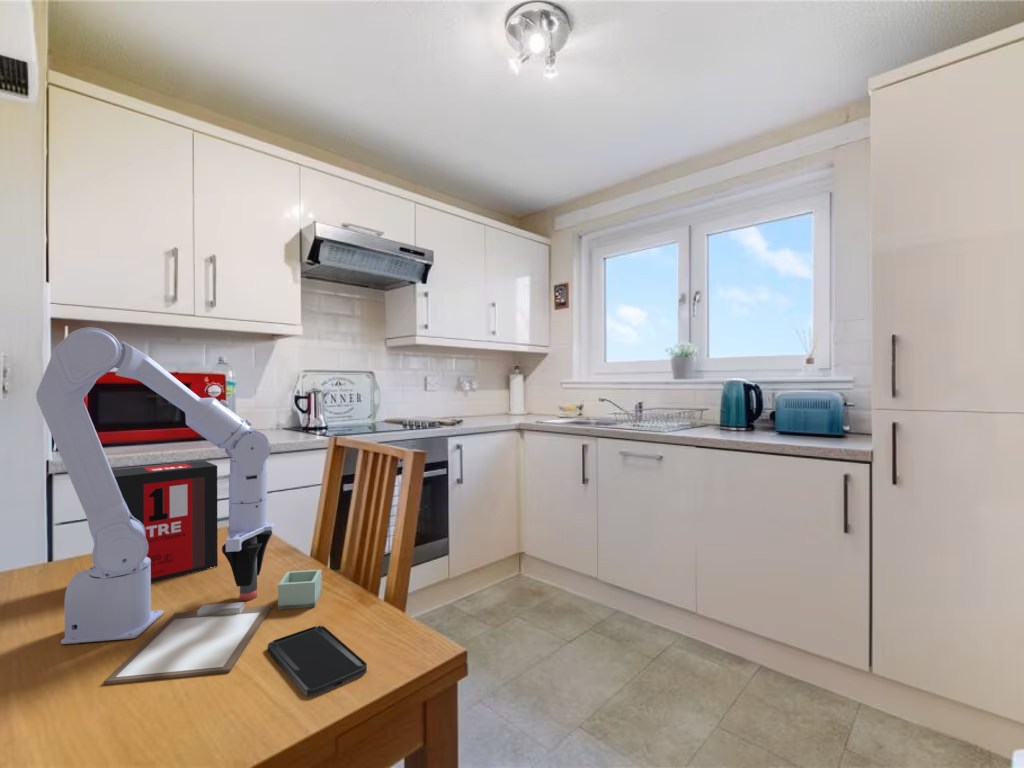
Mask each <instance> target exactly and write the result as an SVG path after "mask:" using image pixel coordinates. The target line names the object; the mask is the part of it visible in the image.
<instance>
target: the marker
mask: <svg viewBox="0 0 1024 768" xmlns="http://www.w3.org/2000/svg"><path fill="white" fill-rule="evenodd" d="M249 542H251V544H254V543H257V537H256V536H253V537H251V538H249ZM257 597H258V576H257V557H256V561H255V567H254V575H253V580H252V583H251V585H250V586H239V600H240V601H242V602H245V601H252V600H254V599H256V598H257Z"/></svg>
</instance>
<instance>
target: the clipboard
mask: <svg viewBox="0 0 1024 768" xmlns="http://www.w3.org/2000/svg"><path fill="white" fill-rule="evenodd" d="M271 609H272V605H265V606H264V605H262V606H251V607H247V606H246V607H245V601H242V602H241V601H240V602H228V603H227V602H226V603H212V604H202V605H201V606H200V608H198V610H196V611H185V612H182V611H181V612H174V614H173V615H172V616H171V617H169V618H168V620H166V621H165V622H164V623H163V624H162V625H161V626H160V627H159V628H158V629H157V630H156V631H155V632H154V633H153V634H151V636H150V637H148V638H147V640H146V641H144V642H143V643H142V644H141V645H140V646H139V647H137V649H136V650H135V651H134V652H132V654H131V655H130V656H129V657H127V658H126V660H124V662H122V663H121V664H120V665H119V666H118V667H117V668H115V670H114V671H113V672H112V673H111V674H109V675H108V676H107V677H106V679H104V681H103V685H113V684H122V683H123V684H124V683H135V682H141V681H142V682H144V681H154V680H164V679H176V678H183V677H193V676H195V677H196V676H203V675H204V676H205V675H206V676H207V675H214V674H226V673H230V672H231V671H232V670H233V668H234V666H235V665H236V663H237V661H238V660H239V659H240V657H241V656H242V654H243V652H244V651H245V649H246V648H247V647H248V645H249V643H250V642H251V640H252V639H253V637H254V635H255V634H256V632H257V631H258V630H259V629H260V627H261V625H262V623H263V621H264V620H266V617H267V616H268V614H269V613H270V612H271Z"/></svg>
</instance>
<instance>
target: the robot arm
mask: <svg viewBox="0 0 1024 768" xmlns="http://www.w3.org/2000/svg"><path fill="white" fill-rule="evenodd" d="M114 368H116V369H117V370H116V371H115V376H118V377H122V378H128V379H132V380H136V381H139V382H141V383H142V384H143V385H144V386H146V387H148V388H149V389H150V390H152V391H153V392H155V393H156V394H158V395H159V396H161V397H162V398H164V399H165V400H166V401H168V402H169V403H171V404H172V405H174V406H175V407H177V408H178V409H180V410H181V411H182V412H184V414H185V415H184V416H185V425H186V426H188V427H189V429H192V430H193V431H194V432H196V433H197V434H199V435H200V436H201V437H203V438H204V439H206V440H207V441H208V442H209V443H210V444H213V446H215V447H216V448H218V449H220V450H221V449H222V450H223V449H224V451H225V453H226V455H227V456H228V457H229V458H231V459H229V473H228V527H227V538H226V539H225V543H224V544H223V545H222V546H221V552H222V554H223V555H224V556H225V558H226V560H227V561H228V563H229V565H230V568H231V571H232V575H233V578H234V582H235V584H236V587H240V586H250V585H251V583H252V580H253V575H254V567H255V561H256V557H257V577H258V576H259V575H260V573H261V570H262V566H263V565H262V564H263V561H264V557H265V556H264V555H265V552H266V548H267V546H268V543H269V541H270V539H271V537H272V535H273V531H272V530H274V528H275V523H272V522H271V523H269V521H268V472H267V459H268V458H269V457H270V454H271V452H272V445H270V442H269V439H268V436H266V435H265V434H264V433H262V432H260V431H258V430H256V429H255V428H253V427H251V426H253V422H252V421H250V420H249V419H245V420H244V419H243V418H242V417H240V416H239V415H238V414H236V413H235V412H233V411H232V410H231V409H230V408H229V406H230V403H228V402H227V401H226V400H225V399H220V401H219V399H217V398H216V397H200V396H199V395H197V394H196V393H195V392H194V391H192V390H191V389H190V388H189V387H187V386H186V385H185V384H184V383H182V382H181V381H179V380H178V379H177V377H175V376H173V375H172V374H171V373H170V372H169V371H167V370H166V369H165V368H163V367H162V366H161V365H160V364H159V363H157V362H156V361H155V360H153V358H151V357H150V356H148V355H147V354H145V353H144V352H143V351H140V350H138V349H137V348H135V347H134V346H132V345H130V344H128V343H127V342H125V341H122V342H121V343H120V342H119V340H118V339H117V338H116V336H114V334H112V333H111V332H109V331H107V330H105V329H102V328H99V327H81V328H78V329H76V330H74V331H72V332H70V333H69V334H68V335H67V336H65V337H64V339H63V340H61V342H59V343H58V344H57V346H56V347H54V348H53V349H52V351H51V355H50V359H49V362H48V364H47V366H46V369H45V371H44V373H43V375H42V379H41V381H40V383H39V386H38V388H37V390H36V393H35V397H36V401H37V404H38V406H39V408H40V410H41V413H42V416H43V418H44V420H45V423H46V425H47V428H48V429H49V430H48V431H49V432H50V434H51V437H52V439H53V441H54V444H55V446H56V448H57V451H58V453H59V456H60V458H61V461H62V462H63V465H64V467H65V470H66V472H67V474H68V476H69V479H70V481H71V484H72V486H73V488H74V491H75V493H76V495H77V497H78V500H79V503H80V505H81V507H82V510H83V511H84V515H85V517H86V520H87V526H88V529H89V532H90V535H91V537H92V540H93V549H92V553H91V560H92V564H93V565H92V566H90V567H89V569H85V570H80V571H78V572H77V573H75V574H74V575H73V576H72V578H71V579H70V580H69V582H68V585H67V586H66V591H65V593H64V638H62V639H61V640H60V644H61V645H66V644H67V645H69V644H79V643H92V642H93V643H94V642H105V641H116V640H118V641H119V640H128V639H129V640H130V639H135V638H138V637H139V636H140V635H141V634H143V632H145V631H146V630H147V629H148V628H149V627H150V626H151V625H152V624H153V623H154V622H156V621H157V620H158V619H159V618H160V617H161V616H162V615H164V610H163V609H159V610H152V593H151V592H152V590H151V589H152V588H151V587H152V585H151V584H152V583H151V559H150V558H148V557H146V556H147V553H148V547H149V546H148V541H147V539H146V538H145V537H146V531H145V528H144V526H143V524H142V523H141V522H140V521H139V520H137V519H136V518H134V517H133V516H132V515H131V513H130V511H129V509H128V507H127V504H126V503H125V501H124V499H123V496H122V494H121V492H120V489H119V487H118V484H117V482H116V479H115V477H114V474H113V472H112V470H113V469H112V468H111V465H110V463H109V462H110V461H109V460H108V458H107V455H106V452H105V450H104V448H103V445H102V443H101V440H100V438H99V436H98V433H97V430H96V429H95V425H94V423H93V421H92V418H91V416H90V412H89V411H88V408H87V406H86V403H85V400H84V399H85V397H86V396H87V395H88V393H90V391H91V390H92V389H93V387H94V386H95V384H96V381H97V380H98V379H100V378H101V377H103V376H105V375H106V374H107V373H109V372H110V371H111V370H114ZM253 536H256V537H257V543H254V544H251V542H249V538H251V537H253Z"/></svg>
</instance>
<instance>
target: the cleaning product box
mask: <svg viewBox="0 0 1024 768" xmlns="http://www.w3.org/2000/svg"><path fill="white" fill-rule="evenodd" d="M112 472H113V474H114V477H115V479H116V482H117V484H118V487H119V489H120V492H121V494H122V496H123V499H124V501H125V503H126V504H127V507H128V509H129V511H130V513H131V515H132V516H133V517H134V518H136V519H137V520H139V521H140V522H141V523H142V524H143V526H144V528H145V531H146V537H145V538H146V539H147V541H148V546H149V547H148V553H147V556H146V557H148V558H150V559H151V584H152V583H155V582H159V581H164V580H167V579H168V580H169V579H172V578H176V577H180V575H181V576H184V574H185V575H188V574H187V573H190V574H193V573H192V572H194V573H196V572H195V571H198V572H200V571H199V570H202V571H204V570H203V569H206V570H208V569H207V568H210V567H214V566H218V562H219V561H218V551H219V550H218V465H216V464H215V463H211V462H209V461H206V460H198V461H188V462H186V461H185V462H177V463H169V464H159V465H158V464H157V465H147V466H137V467H127V468H117V469H112Z"/></svg>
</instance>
